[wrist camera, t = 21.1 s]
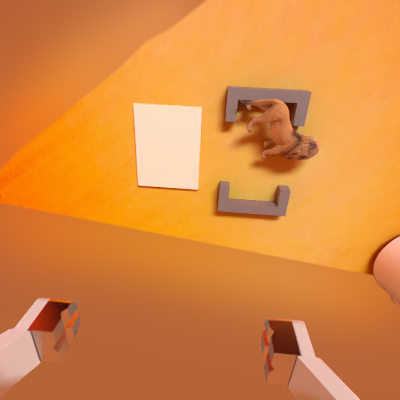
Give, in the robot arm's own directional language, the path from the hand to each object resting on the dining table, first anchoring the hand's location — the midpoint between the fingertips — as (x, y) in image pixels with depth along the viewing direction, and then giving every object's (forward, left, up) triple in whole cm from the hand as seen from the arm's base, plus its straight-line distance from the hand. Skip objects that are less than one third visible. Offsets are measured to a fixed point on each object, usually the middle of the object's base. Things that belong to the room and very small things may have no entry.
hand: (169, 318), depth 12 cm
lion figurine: (-7, -1, -32) cm, 33 cm away
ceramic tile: (+6, +2, -34) cm, 35 cm away
